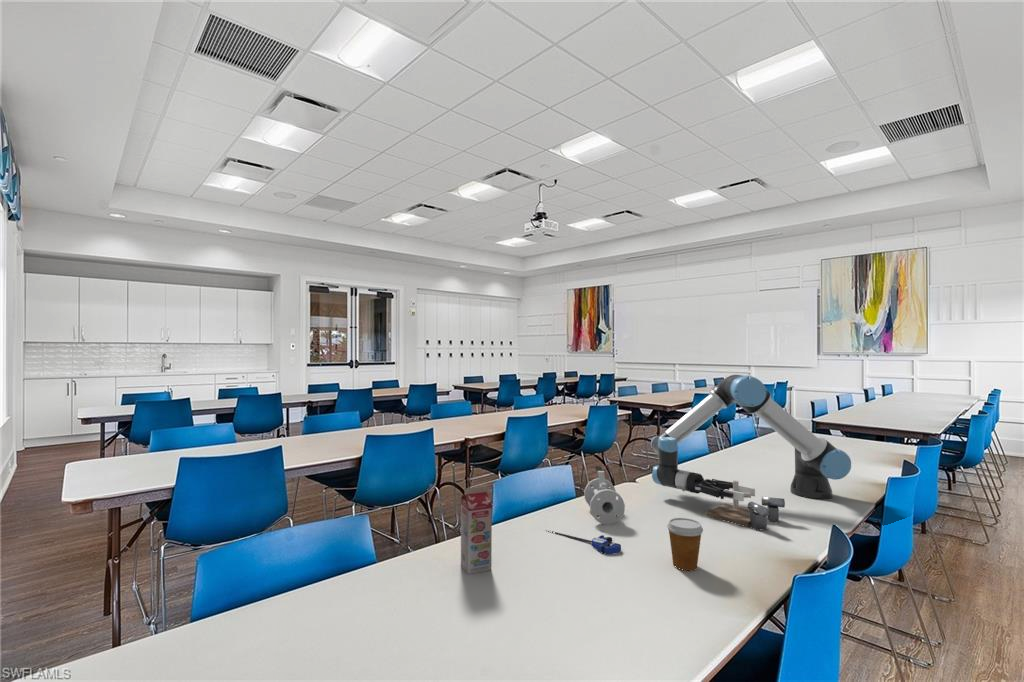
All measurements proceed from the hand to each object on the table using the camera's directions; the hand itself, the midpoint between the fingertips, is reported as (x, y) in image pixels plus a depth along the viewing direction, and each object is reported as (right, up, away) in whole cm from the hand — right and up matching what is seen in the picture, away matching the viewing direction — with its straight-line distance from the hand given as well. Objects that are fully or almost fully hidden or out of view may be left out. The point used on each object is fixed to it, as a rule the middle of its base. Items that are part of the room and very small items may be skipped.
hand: (748, 494), depth 176 cm
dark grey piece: (-1, -9, -8) cm, 12 cm away
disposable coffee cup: (-36, -8, -38) cm, 53 cm away
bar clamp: (-64, -9, -18) cm, 67 cm away
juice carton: (-94, -8, -39) cm, 102 cm away
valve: (-51, -9, +6) cm, 52 cm away
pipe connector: (-3, -6, +3) cm, 8 cm away
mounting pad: (-3, -9, +3) cm, 10 cm away
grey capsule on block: (+8, -9, -1) cm, 12 cm away
